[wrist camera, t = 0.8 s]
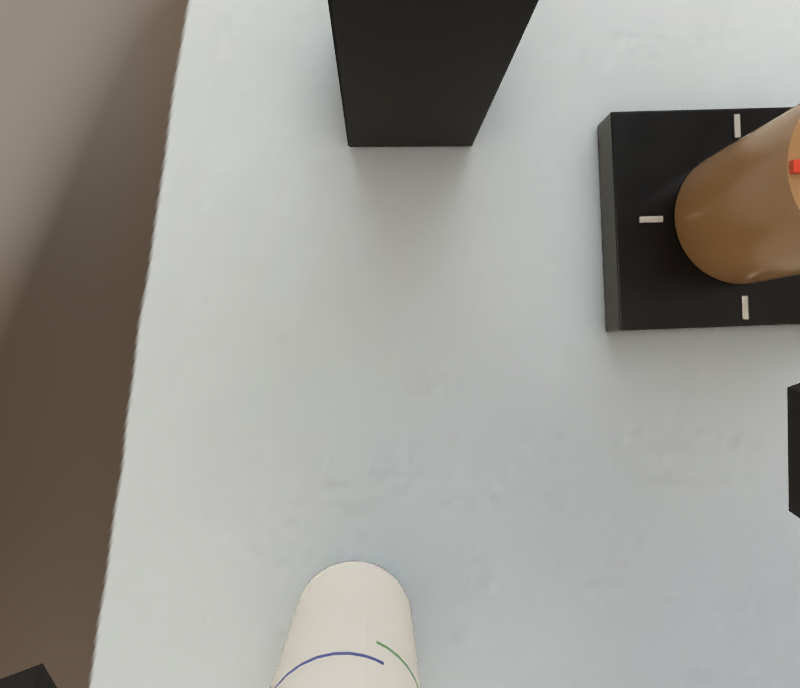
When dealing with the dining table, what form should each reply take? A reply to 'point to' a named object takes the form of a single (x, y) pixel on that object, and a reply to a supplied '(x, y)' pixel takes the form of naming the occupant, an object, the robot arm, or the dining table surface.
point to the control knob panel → (672, 225)
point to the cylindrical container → (350, 633)
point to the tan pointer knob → (746, 206)
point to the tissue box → (422, 66)
